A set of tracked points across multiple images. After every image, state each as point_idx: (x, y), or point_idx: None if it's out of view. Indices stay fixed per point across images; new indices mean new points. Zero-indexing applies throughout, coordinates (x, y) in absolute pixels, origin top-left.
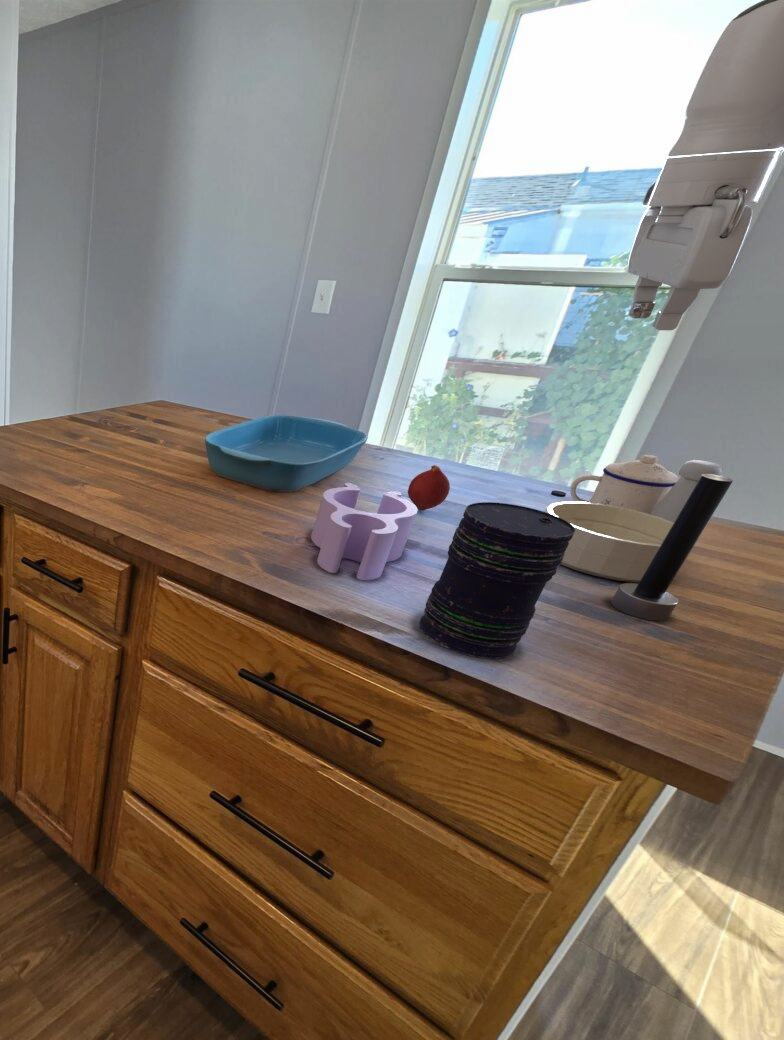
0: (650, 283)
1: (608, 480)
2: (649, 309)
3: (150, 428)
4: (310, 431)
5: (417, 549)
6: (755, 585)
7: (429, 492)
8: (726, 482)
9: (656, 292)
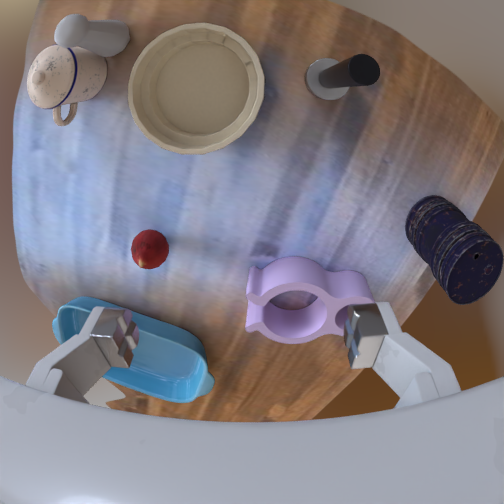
0: (76, 396)
1: (66, 100)
2: (120, 328)
3: (117, 400)
4: (69, 333)
5: (276, 243)
6: None
7: (166, 251)
8: (378, 66)
9: (67, 355)
